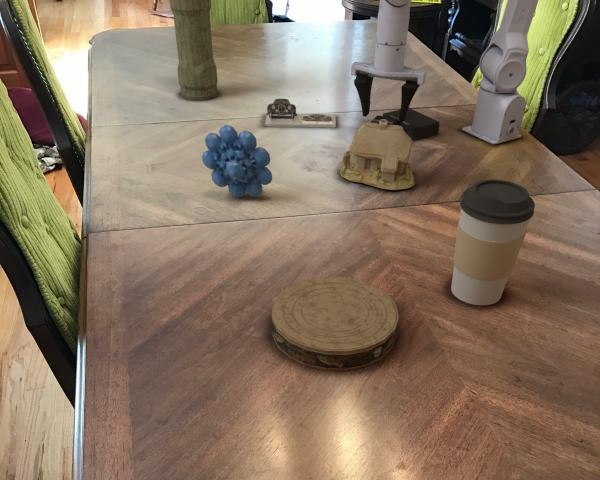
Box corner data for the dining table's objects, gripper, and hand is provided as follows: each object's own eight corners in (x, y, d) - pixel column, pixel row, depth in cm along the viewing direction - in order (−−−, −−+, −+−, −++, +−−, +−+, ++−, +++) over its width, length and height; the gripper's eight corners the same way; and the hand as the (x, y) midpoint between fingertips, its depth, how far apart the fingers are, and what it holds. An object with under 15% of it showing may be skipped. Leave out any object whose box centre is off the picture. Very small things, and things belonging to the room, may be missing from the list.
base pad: (437, 134, 128) (439, 121, 126) (411, 141, 125) (413, 128, 123) (407, 119, 134) (408, 107, 132) (381, 125, 131) (382, 112, 129)
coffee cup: (462, 266, 90) (484, 166, 80) (520, 289, 86) (551, 185, 76) (431, 293, 85) (450, 189, 75) (491, 318, 81) (520, 212, 70)
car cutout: (264, 126, 130) (264, 103, 127) (266, 115, 135) (266, 93, 132) (335, 127, 130) (336, 105, 127) (335, 116, 135) (336, 94, 132)
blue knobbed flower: (201, 207, 103) (193, 134, 95) (208, 189, 108) (201, 118, 100) (270, 210, 102) (268, 137, 94) (274, 192, 107) (272, 121, 99)
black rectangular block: (396, 133, 128) (398, 118, 126) (387, 143, 124) (389, 128, 122) (375, 130, 129) (377, 114, 127) (366, 140, 125) (367, 124, 123)
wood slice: (246, 329, 79) (244, 310, 77) (331, 282, 87) (332, 263, 85) (336, 389, 71) (338, 370, 68) (421, 331, 79) (425, 312, 77)
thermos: (225, 100, 142) (210, -94, 118) (173, 101, 141) (148, -94, 117) (225, 87, 148) (211, -99, 124) (175, 88, 147) (152, -99, 123)
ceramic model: (419, 169, 115) (427, 113, 108) (411, 194, 107) (419, 136, 100) (346, 160, 118) (349, 105, 111) (332, 184, 110) (335, 127, 103)
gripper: (434, 41, 115) (424, 116, 124) (361, 32, 119) (356, 106, 129) (424, 50, 110) (414, 128, 120) (348, 41, 114) (344, 117, 124)
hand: (383, 117), depth 124 cm, fingers open, 7 cm apart
